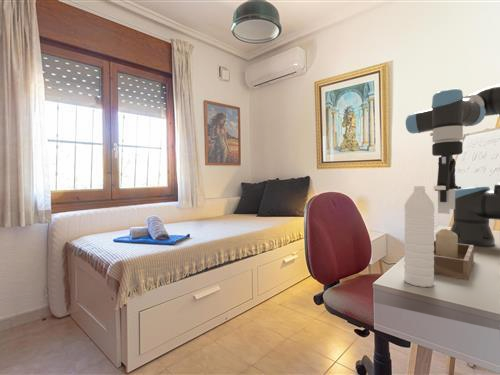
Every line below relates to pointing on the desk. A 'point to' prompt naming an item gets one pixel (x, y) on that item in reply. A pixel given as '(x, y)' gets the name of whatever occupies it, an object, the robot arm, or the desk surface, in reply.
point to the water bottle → (419, 238)
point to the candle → (447, 244)
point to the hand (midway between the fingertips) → (446, 211)
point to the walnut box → (455, 262)
